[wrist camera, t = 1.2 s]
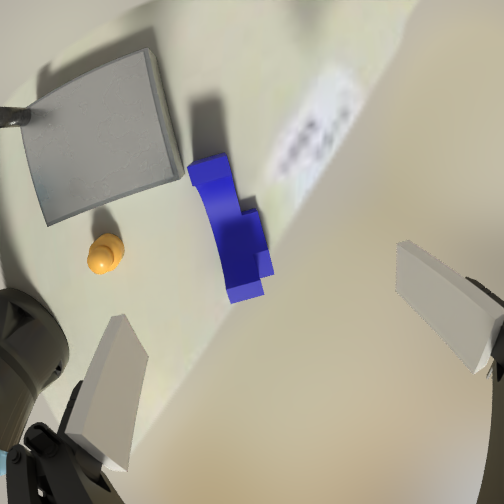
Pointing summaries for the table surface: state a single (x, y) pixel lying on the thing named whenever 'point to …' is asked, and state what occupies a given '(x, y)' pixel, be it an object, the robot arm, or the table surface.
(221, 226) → the cable clip
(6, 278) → the table surface
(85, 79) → the grey square plate
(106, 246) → the chess pawn
